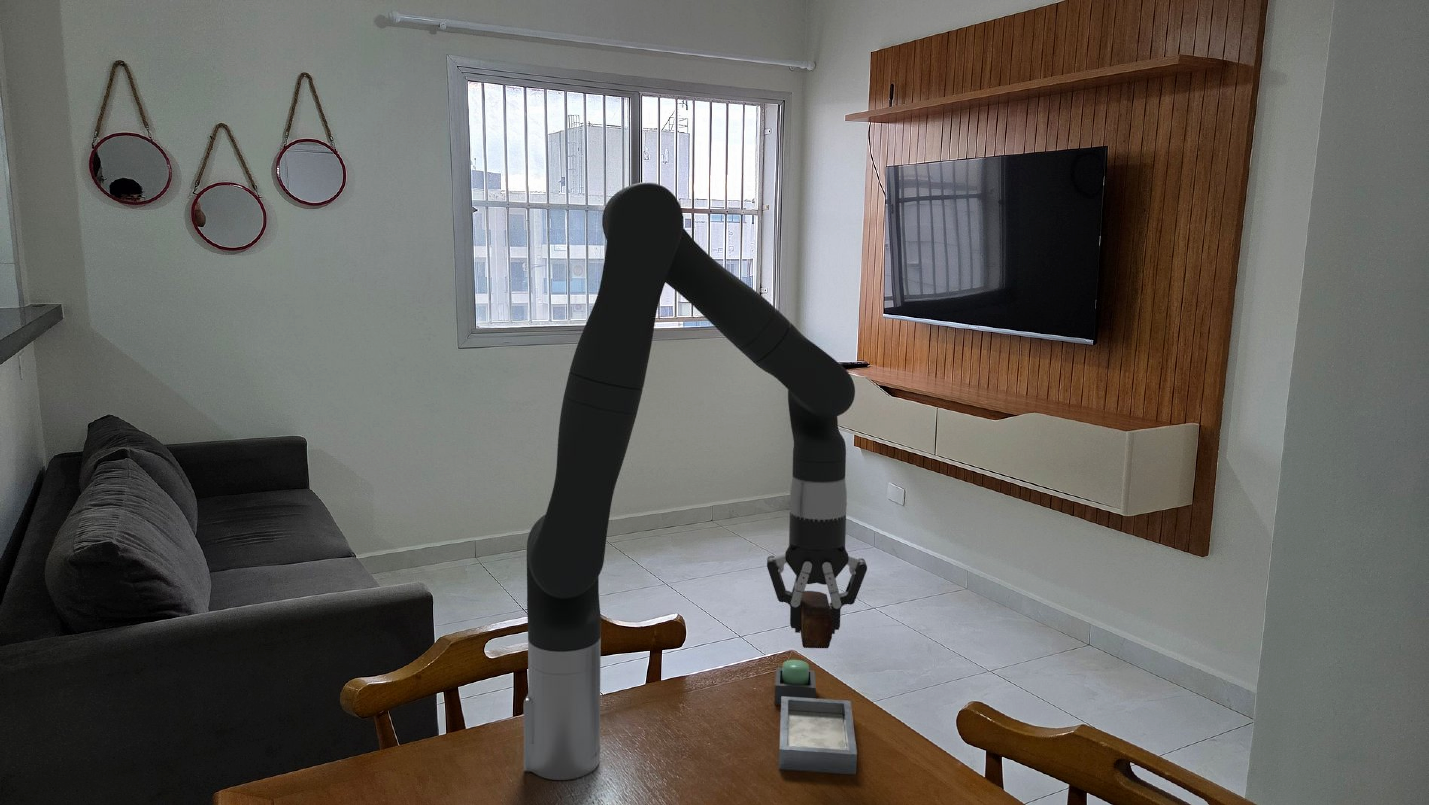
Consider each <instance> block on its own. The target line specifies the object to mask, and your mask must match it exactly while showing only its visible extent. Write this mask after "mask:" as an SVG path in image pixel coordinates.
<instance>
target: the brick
mask: <svg viewBox="0 0 1429 805" xmlns="http://www.w3.org/2000/svg"><path fill="white" fill-rule="evenodd" d="M800 604H801V624H800V639H801V643H802V647H803V649H828V648H829V647H830V645H831V642H832V639H833V634H832V615H831V611H830V607H829V606H830V602H829V599H828V595H827V593H824V592H821V591H814V590H804V593H803V595H802V598H801V601H800Z"/></svg>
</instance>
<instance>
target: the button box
mask: <svg viewBox="0 0 1429 805" xmlns="http://www.w3.org/2000/svg"><path fill="white" fill-rule="evenodd" d="M782 668H783V667H782ZM782 668H779V667H776V668H775V678H774V679H775V680H774V683H775V684H774V705H779V706H781V696H785V697H800V698H816V687H817V686H816V672H815V670H816V669H815V670H813V669H809V680H808V684H807V685H795V684H784V683H783V682H782Z"/></svg>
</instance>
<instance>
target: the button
mask: <svg viewBox="0 0 1429 805" xmlns="http://www.w3.org/2000/svg"><path fill="white" fill-rule="evenodd" d="M809 670H810V664H809V663H808V662H806V661H804V660H801V659H800V660H799V659H788V660H786V661H784V662H783V663H782V682H783V683H784V684H795V685H807V684H808V680H809Z"/></svg>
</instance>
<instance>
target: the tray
mask: <svg viewBox="0 0 1429 805" xmlns="http://www.w3.org/2000/svg"><path fill="white" fill-rule="evenodd" d="M852 711H853V710H852V702H851V700H842V699H830V698H829V699H828V698H816V697H815V698H800V697H785V696H781V705H780V720H779V721H780V724H779V727H780V728H779V750H778V752H779V753H778V754H779V755H778V770H784V771H785V770H787V771H788V770H789V771H799V772H813V773H815V772H816V773H828V774H829V773H830V774H841V775H842V774H844V775H854V776H856V775H857V762H858V761H857V760H858V751H857V744H856V736H855V735H856V734H855V727H854V719H853V712H852Z"/></svg>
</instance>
